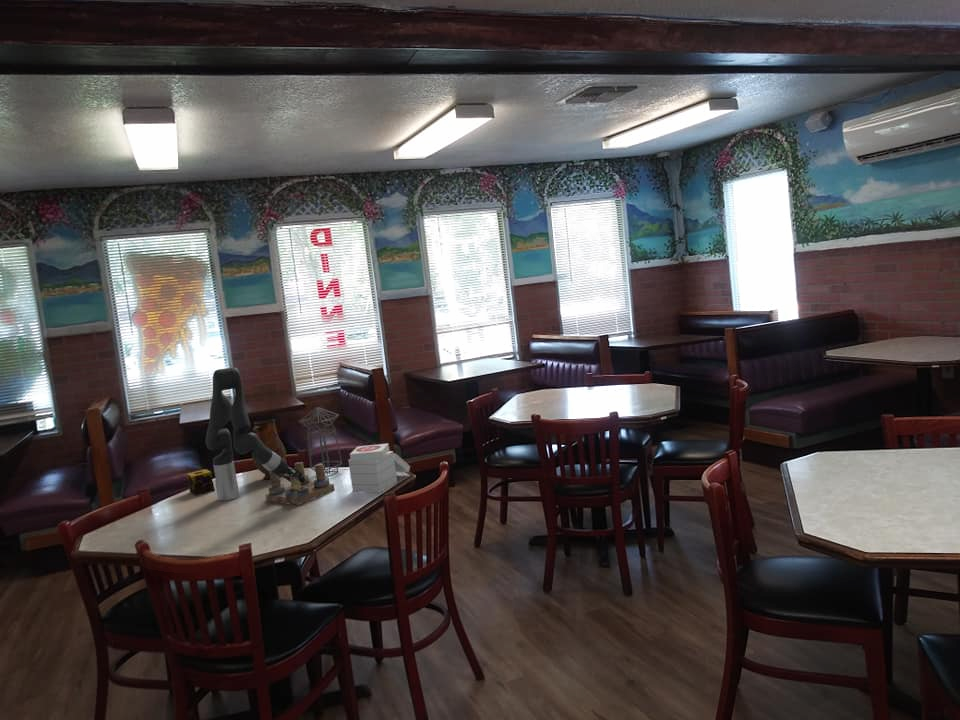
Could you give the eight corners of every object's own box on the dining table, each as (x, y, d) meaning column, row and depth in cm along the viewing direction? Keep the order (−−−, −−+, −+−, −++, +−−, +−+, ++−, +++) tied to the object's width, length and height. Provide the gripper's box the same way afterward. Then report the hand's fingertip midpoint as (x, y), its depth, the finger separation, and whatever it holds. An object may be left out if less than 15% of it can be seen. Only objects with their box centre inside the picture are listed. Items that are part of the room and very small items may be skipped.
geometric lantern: (349, 470, 375) (339, 404, 370) (328, 480, 362) (318, 411, 357) (326, 469, 383) (316, 403, 378) (305, 478, 370) (294, 411, 365)
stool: (266, 501, 336) (262, 473, 334) (303, 486, 353) (299, 460, 352) (297, 505, 323) (293, 476, 321) (334, 490, 340) (330, 463, 339)
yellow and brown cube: (215, 491, 366) (212, 471, 365) (194, 496, 360) (191, 476, 359) (210, 487, 374) (206, 468, 373) (189, 492, 369) (186, 473, 368)
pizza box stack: (414, 474, 353) (409, 437, 351) (381, 493, 326) (375, 454, 324) (381, 473, 361) (376, 438, 359) (345, 492, 334) (340, 454, 332)
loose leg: (291, 496, 327) (287, 474, 326) (298, 493, 330) (295, 472, 329) (296, 497, 325) (293, 475, 324) (303, 494, 328) (300, 472, 327)
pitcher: (295, 472, 386) (286, 416, 382) (276, 484, 365) (267, 425, 361) (266, 474, 389) (257, 418, 386) (246, 486, 368) (236, 427, 365)
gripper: (287, 456, 315) (312, 474, 326) (267, 454, 324) (291, 472, 334) (279, 471, 312) (304, 489, 322) (259, 469, 320) (283, 486, 330)
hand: (297, 480), depth 328 cm, fingers open, 8 cm apart
